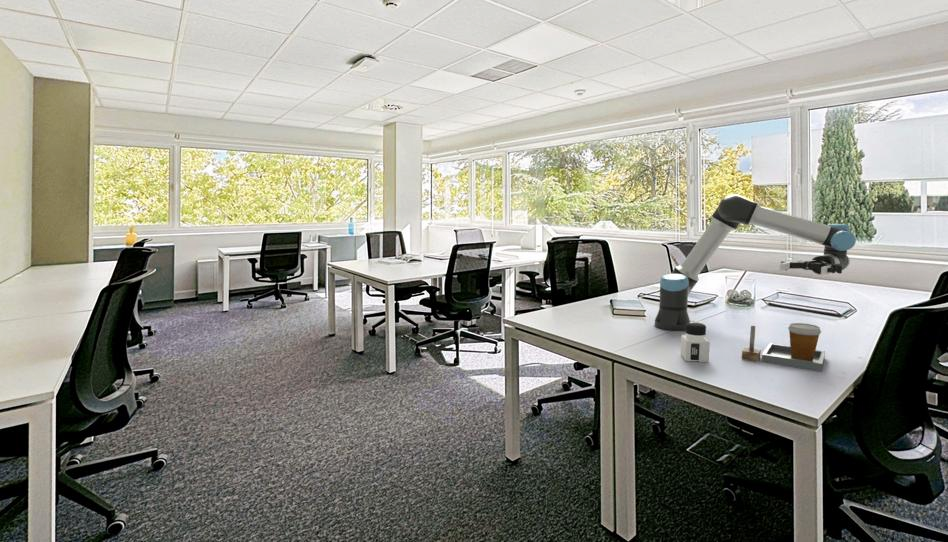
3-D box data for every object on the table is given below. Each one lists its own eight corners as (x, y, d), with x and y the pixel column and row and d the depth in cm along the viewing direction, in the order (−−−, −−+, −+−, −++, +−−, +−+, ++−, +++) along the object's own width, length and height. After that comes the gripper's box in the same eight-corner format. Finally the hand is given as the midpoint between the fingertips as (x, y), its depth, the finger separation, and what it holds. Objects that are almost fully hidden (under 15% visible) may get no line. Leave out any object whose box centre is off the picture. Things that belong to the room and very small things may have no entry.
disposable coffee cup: (784, 353, 172) (786, 321, 171) (816, 357, 168) (818, 324, 166) (787, 361, 164) (790, 327, 162) (821, 365, 159) (824, 330, 158)
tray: (761, 361, 166) (762, 354, 166) (768, 349, 179) (769, 343, 179) (821, 371, 155) (822, 363, 155) (824, 358, 168) (825, 351, 168)
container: (708, 362, 166) (710, 326, 164) (685, 361, 167) (687, 325, 165) (702, 355, 173) (704, 321, 171) (680, 354, 175) (681, 320, 173)
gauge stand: (741, 359, 169) (743, 326, 167) (744, 355, 173) (746, 323, 171) (757, 361, 166) (760, 328, 164) (760, 358, 170) (762, 325, 168)
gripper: (862, 277, 178) (840, 283, 166) (788, 270, 198) (764, 275, 187) (864, 257, 177) (842, 261, 165) (790, 252, 197) (765, 256, 185)
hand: (800, 268), depth 176 cm, fingers open, 13 cm apart
